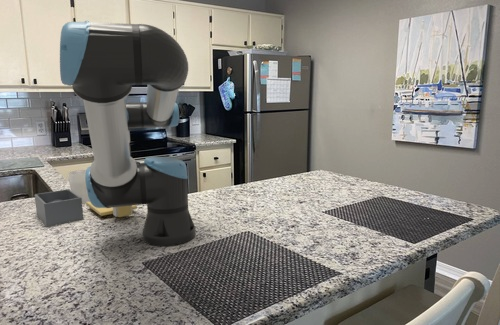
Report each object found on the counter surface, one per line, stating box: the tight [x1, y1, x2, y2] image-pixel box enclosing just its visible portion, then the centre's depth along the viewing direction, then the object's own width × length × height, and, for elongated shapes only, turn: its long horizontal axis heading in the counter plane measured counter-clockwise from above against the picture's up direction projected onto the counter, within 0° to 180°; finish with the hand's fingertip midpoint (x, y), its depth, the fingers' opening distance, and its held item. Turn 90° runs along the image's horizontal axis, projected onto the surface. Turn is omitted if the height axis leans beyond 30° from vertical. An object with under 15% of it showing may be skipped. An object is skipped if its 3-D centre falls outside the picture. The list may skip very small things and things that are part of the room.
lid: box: [85, 202, 138, 218], centre depth 131 cm, size 21×12×8 cm, turn 39°
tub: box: [34, 188, 84, 228], centre depth 127 cm, size 15×11×8 cm
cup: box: [68, 169, 90, 205], centre depth 145 cm, size 9×9×12 cm
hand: (122, 214), depth 125 cm, fingers closed on lid, 4 cm apart
